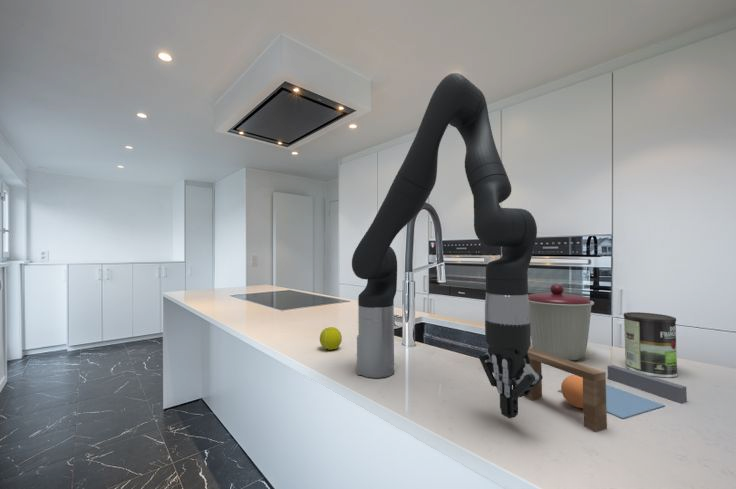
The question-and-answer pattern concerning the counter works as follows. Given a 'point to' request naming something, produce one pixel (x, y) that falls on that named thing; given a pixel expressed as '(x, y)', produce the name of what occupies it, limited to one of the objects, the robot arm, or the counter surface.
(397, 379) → the counter surface
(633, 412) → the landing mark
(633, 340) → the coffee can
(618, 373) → the stopper
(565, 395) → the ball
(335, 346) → the tennis ball
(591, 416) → the bridge
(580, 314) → the canister
